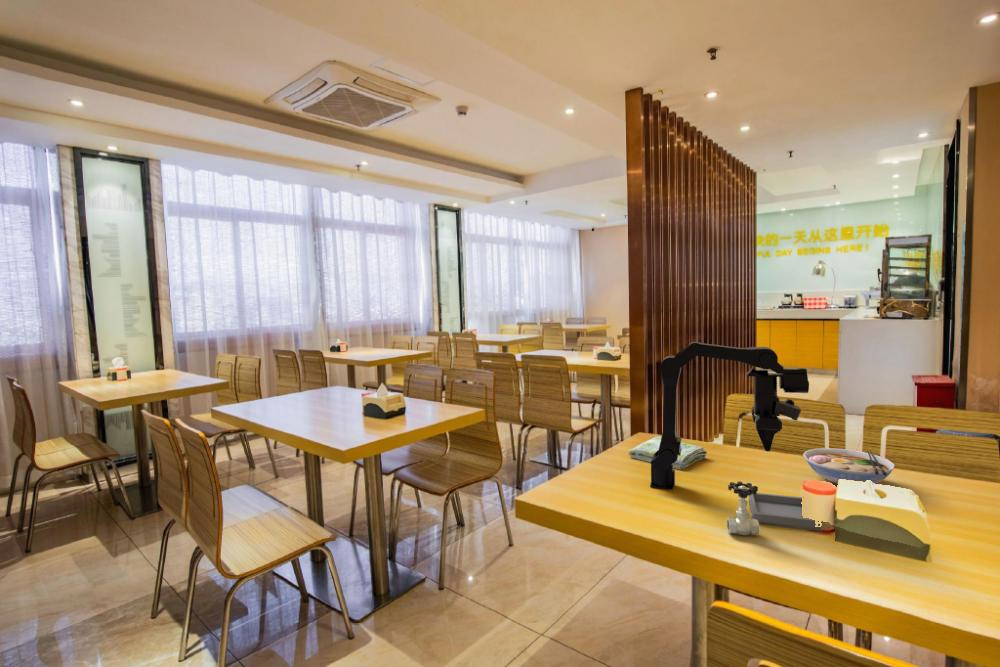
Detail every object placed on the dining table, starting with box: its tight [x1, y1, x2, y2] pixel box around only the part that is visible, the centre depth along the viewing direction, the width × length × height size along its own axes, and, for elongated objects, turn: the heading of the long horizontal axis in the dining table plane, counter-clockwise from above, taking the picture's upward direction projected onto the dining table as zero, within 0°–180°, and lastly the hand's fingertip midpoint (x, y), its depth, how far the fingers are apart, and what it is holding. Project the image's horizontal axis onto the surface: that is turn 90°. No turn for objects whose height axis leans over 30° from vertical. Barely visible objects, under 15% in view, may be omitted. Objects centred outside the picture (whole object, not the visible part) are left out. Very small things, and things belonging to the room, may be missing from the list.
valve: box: [725, 480, 760, 536], centre depth 122 cm, size 7×7×12 cm
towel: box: [628, 435, 708, 470], centre depth 182 cm, size 18×21×5 cm
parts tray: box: [747, 492, 824, 532], centre depth 133 cm, size 15×15×2 cm
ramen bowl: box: [802, 447, 896, 485], centre depth 153 cm, size 25×23×8 cm
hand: (766, 446), depth 144 cm, fingers open, 9 cm apart
